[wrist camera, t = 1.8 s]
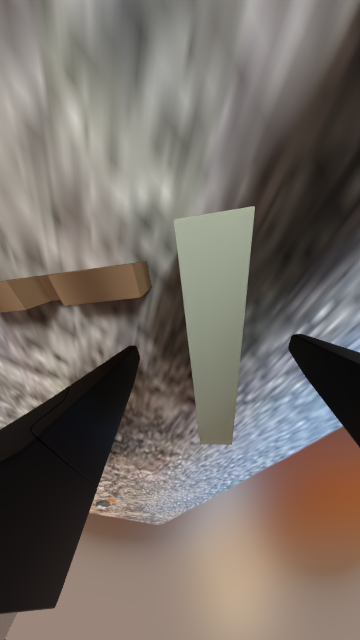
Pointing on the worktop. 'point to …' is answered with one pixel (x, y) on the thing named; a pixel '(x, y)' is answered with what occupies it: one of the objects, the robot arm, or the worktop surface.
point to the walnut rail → (76, 287)
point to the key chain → (105, 503)
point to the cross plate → (215, 311)
